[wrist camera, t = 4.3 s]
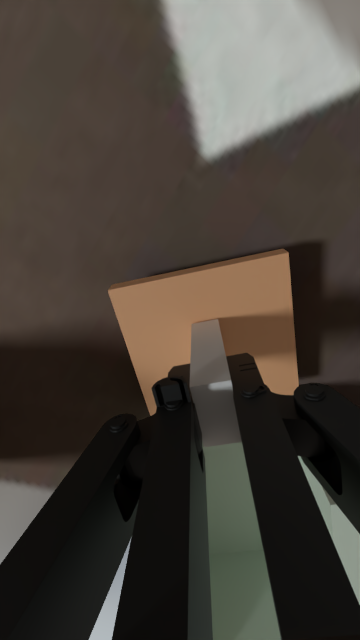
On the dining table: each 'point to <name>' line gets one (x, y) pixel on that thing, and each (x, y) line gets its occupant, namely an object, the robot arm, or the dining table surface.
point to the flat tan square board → (211, 317)
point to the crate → (254, 547)
